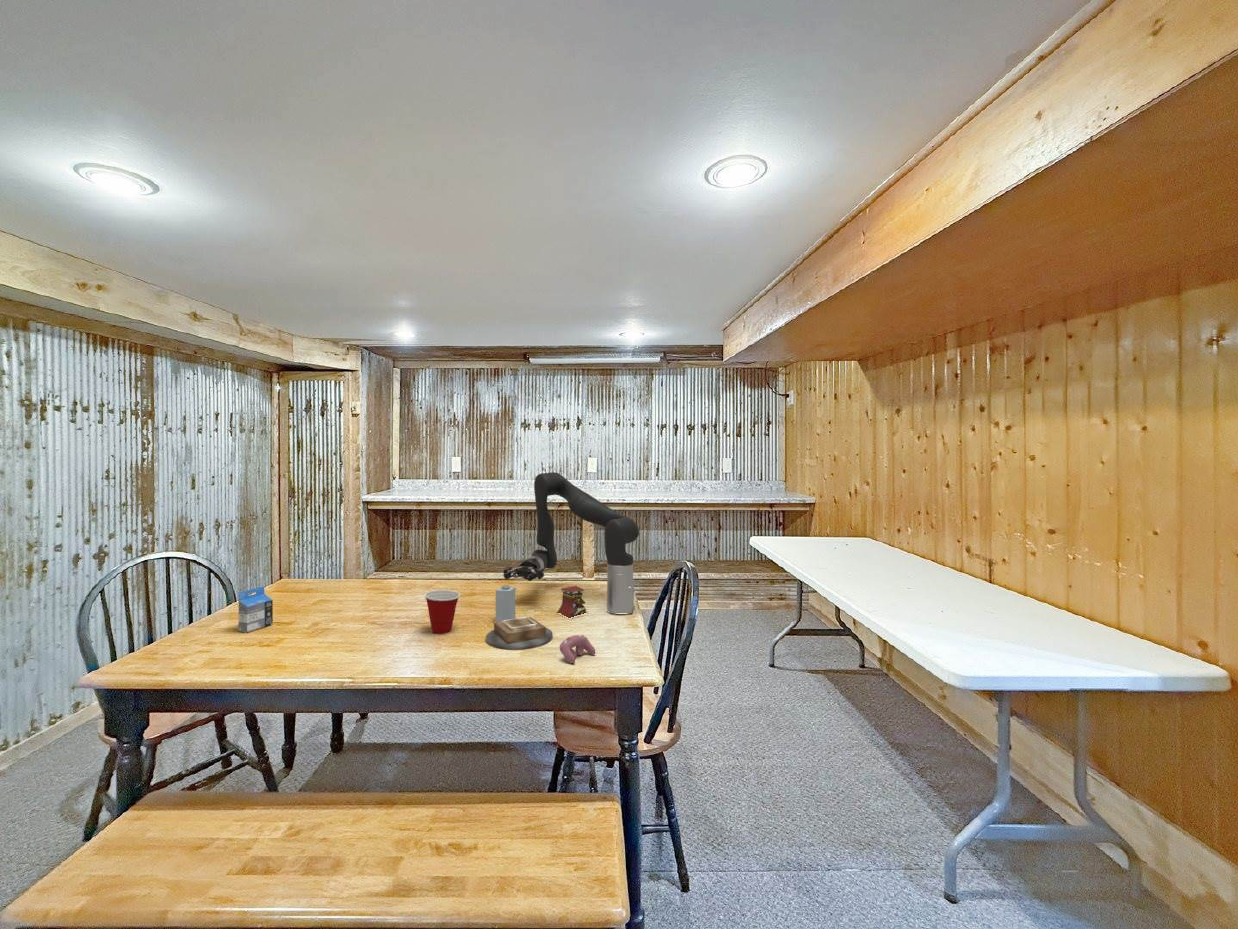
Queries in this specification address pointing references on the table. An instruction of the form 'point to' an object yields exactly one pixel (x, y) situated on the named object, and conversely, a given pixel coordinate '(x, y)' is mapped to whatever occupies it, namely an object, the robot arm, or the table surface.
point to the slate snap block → (505, 603)
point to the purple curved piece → (580, 645)
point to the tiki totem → (572, 602)
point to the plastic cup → (441, 609)
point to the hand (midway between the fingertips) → (517, 577)
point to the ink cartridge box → (254, 610)
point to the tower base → (517, 645)
